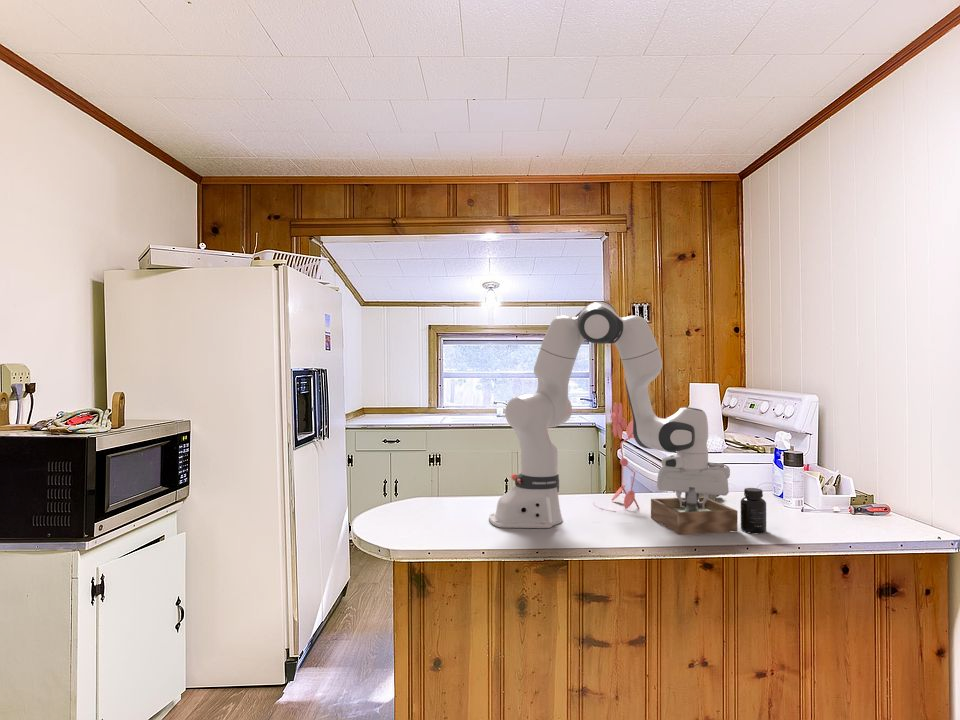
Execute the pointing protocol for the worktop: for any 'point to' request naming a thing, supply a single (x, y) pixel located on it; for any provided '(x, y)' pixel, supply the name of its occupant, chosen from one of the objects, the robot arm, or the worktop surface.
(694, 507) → the peg
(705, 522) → the box
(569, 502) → the worktop surface
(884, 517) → the worktop surface
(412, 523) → the worktop surface
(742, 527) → the supplement bottle
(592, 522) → the worktop surface
